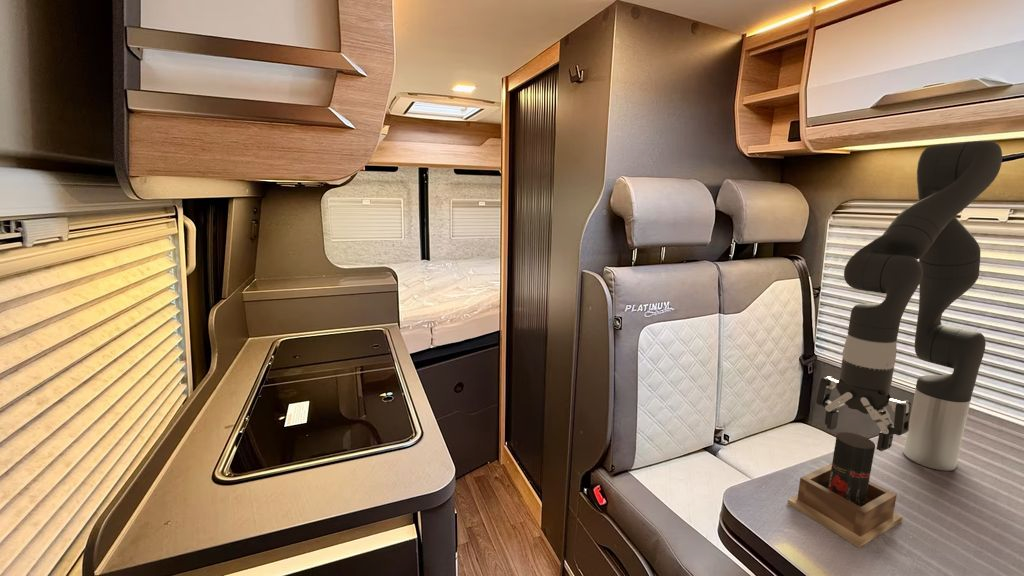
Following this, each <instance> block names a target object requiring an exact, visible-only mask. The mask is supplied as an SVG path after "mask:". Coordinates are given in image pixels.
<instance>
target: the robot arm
mask: <svg viewBox="0 0 1024 576" xmlns="http://www.w3.org/2000/svg"><path fill="white" fill-rule="evenodd" d="M1002 163H1003V152H1002V147H1001V146H1000V145H999V143H998V142H995V141H992V140H974V141H961V142H960V141H959V142H950V143H939V144H935V145H930V146H927V147H926V148H925V149H923V151H922V152H921V153H920V156H919V158H918V162H917V167H916V184H917V186H916V188H917V196H918V201H916V202H915V203H912V204H911V205H910V206H908V207H906V208H905V209H904V210H902V211H901V212H900V213H899V214H897V216H895V218H894V219H893V220H892V221H891V223H890V224H889V226H888V227H887V228H886V229H885V231H884V232H883V233H882V235H880V236H878V237H877V238H875V239H874V240H872V241H871V242H869V243H868V244H866V245H865V246H863V247H862V248H861V249H859V250H858V251H856V252H855V253H854V254H853V255H851V257H850V258H849V260H848V261H847V263H846V265H845V267H844V270H843V278H844V281H845V283H846V284H847V285H848V286H849V287H850V288H852V289H854V290H855V289H856V290H858V291H863V292H865V291H866V292H872V293H876V294H884V295H886V296H885V298H884V299H883V301H882V302H880V303H878V302H877V303H875V302H874V303H871V302H869V303H867V302H866V303H859V304H855V305H853V307H852V308H851V311H850V317H849V322H848V331H847V337H846V338H845V342H844V346H843V350H842V358H841V359H842V360H841V366H840V373H839V380H837V379H835V378H834V376H833V375H827V376H824V377H821V378H820V381H819V386H818V391H817V396H816V400H815V402H816V404H817V405H818V406H822V408H824V409H825V410H826V411H825V418H824V424H825V426H826V428H827V429H828V430H830V431H832V430H834V429H836V428H837V426H838V420H839V413H840V411H839V410H838V409H840V408H841V407H843V406H844V405H846V406H847V408H848V409H852V410H857V411H859V412H860V413H863V414H864V415H869V416H870V417H871V419H872V421H873V422H875V423H876V425H877V427H878V428H879V429H880V431H879V433H878V439H877V444H876V450H878V451H879V452H883V451H885V450H888V449H890V448H891V447H892V445H893V444H892V443H893V439H894V435H896V436H902V435H904V434H906V436H905V441H904V447H903V451H902V452H903V454H904V456H905V457H906V458H908V459H909V460H911V462H912V461H913V462H914V463H916V464H919V465H921V466H923V467H926V468H929V469H934V470H939V471H948V472H949V471H954V470H955V469H956V467H957V463H958V459H959V455H960V450H961V446H962V442H963V437H964V432H965V428H966V423H967V419H968V413H969V410H970V406H971V405H970V404H971V402H972V401H971V400H972V396H973V392H974V389H975V385H976V383H977V382H976V381H977V377H978V373H979V371H980V367H981V365H982V361H983V358H984V354H985V351H986V345H987V344H986V338H985V336H984V335H983V334H982V333H981V332H979V331H975V330H970V329H964V328H960V327H954V326H949V325H943V324H942V322H941V319H942V317H943V313H945V311H946V310H947V309H948V308H949V306H951V304H953V303H954V302H955V301H956V300H957V299H959V298H961V296H963V295H964V294H966V292H968V290H970V289H971V288H972V287H973V286H974V284H975V283H976V282H977V280H978V279H979V277H980V268H981V246H980V245H979V242H978V241H977V239H976V238H975V236H973V234H972V233H971V232H970V231H969V230H968V229H967V227H965V225H963V223H962V222H961V221H960V220H959V219H958V218H957V215H958V214H960V213H961V212H962V211H964V210H965V209H966V208H967V207H968V206H969V205H970V204H971V203H973V202H974V201H975V200H976V199H977V198H978V197H979V196H980V195H982V193H983V192H985V191H986V190H987V189H988V188H989V187H990V185H992V183H993V182H994V181H995V179H996V178H997V176H998V175H999V172H1000V170H1001V167H1002ZM918 287H919V288H918ZM917 289H919V299H918V301H919V303H918V312H917V320H916V322H917V323H916V326H915V327H916V329H915V337H914V352H915V355H916V357H917V358H918V359H919V360H922V361H924V362H927V363H931V364H934V365H938V366H943V367H946V368H951V369H953V372H952V373H950V374H927V375H922V376H919V377H918V378H917V380H916V384H915V388H914V390H915V391H914V395H913V401H912V403H911V402H910V401H909V400H907V399H906V400H902V401H901V400H898V399H894V398H892V397H891V394H890V391H891V386H892V383H893V375H894V371H895V370H894V369H895V365H896V358H897V350H898V349H897V341H898V337H899V335H898V334H899V330H900V324H901V320H902V316H903V315H904V312H905V311H906V308H907V306H908V304H909V302H910V300H911V298H912V297H913V295H914V294H915V292H916V290H917ZM835 387H836V390H837V392H838V393H839V395H840V396H839V397H837V398H836V399H834V400H832V401H831V399H830V398H831V395H832V390H833V389H835ZM888 406H890V407H891V410H892V412H893V413H894V422H893V421H892V419H891V414H890V413H889V411H888V410H887V408H886V407H888Z"/></svg>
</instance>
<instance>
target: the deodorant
mask: <svg viewBox="0 0 1024 576" xmlns="http://www.w3.org/2000/svg"><path fill="white" fill-rule="evenodd" d="M833 449H834V451H833V456H832V462H831V463H832V468H831V474H830V480H829V487H828V489H829V490H830V491H832V492H834V493H836V494H838V495H840V496H842V497H843V498H845V499H847V500H849V501H851V502H853V503H854V504H856V505H858V506H860V507H862V506H863V505H865V501H866V495H867V490H868V484H869V481H870V477H871V472H872V466H873V460H874V457H875V456H874V455H875V450H876V444H875V443H874V441H872V440H871V439H869V438H868V437H865V436H863V435H860V434H857V433H852V432H846V431H845V432H838V433H837V434H836V437H835V443H834V448H833Z"/></svg>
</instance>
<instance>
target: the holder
mask: <svg viewBox="0 0 1024 576" xmlns="http://www.w3.org/2000/svg"><path fill="white" fill-rule="evenodd" d="M831 468H832V462H831V463H830V464H828V465H825V466H822V467H821V468H818V469H816V470H814V471H812V472H810V473H808V474H806V475H803V476H801V477H800V478H799V484H798V492H797V494H796V495H794V496H791V497H790V498H788V499H787V505H789V506H790V507H792V508H794V509H796V510H797V511H799V512H800V513H802V514H804V515H805V516H807V517H809V519H812V520H814V521H815V522H816V523H818V524H820V525H821V526H823V527H825V528H826V529H828V530H829V531H831V532H833V533H835V534H836V535H837V536H839V537H840V538H843V539H844V540H845V541H848V542H849V543H851V544H852V545H854V546H855V547H857V548H858V549H860V548H861V547H863V546H865V545H866V544H868V543H869V542H871V541H872V540H875V539H876V538H877V537H879V536H881V535H883V534H884V533H885V532H887V531H889V530H891V529H892V528H893V527H895V526H896V525H898V524H900V523H901V522H902V521H903V516H902V515H900V514H898V513H896V512H895V508H896V502H897V498H898V497H897V496H898V494H897V493H895V492H893V491H891V490H889V489H887V488H884V487H882V486H880V485H878V484H876V483H874V482H872V481H870V480H869V484H868V490H867V495H866V501H865V505H863V506H862V507H860V506H858V505H856V504H854V503H853V502H851V501H849V500H847V499H845V498H843V497H842V496H840V495H838V494H836V493H834V492H832V491H830V490H829V489H828V487H829V480H830V474H831Z"/></svg>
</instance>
